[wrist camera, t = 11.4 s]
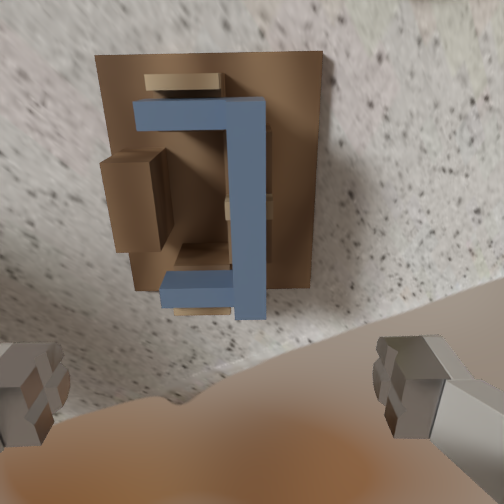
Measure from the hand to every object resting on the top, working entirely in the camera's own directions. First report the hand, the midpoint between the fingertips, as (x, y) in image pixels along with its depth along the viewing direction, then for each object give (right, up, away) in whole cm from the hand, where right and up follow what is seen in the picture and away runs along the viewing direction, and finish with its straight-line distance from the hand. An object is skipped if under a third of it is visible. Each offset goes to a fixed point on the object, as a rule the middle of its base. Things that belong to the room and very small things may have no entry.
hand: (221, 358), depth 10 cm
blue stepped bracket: (-2, +6, +15) cm, 17 cm away
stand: (-2, +8, +20) cm, 21 cm away
